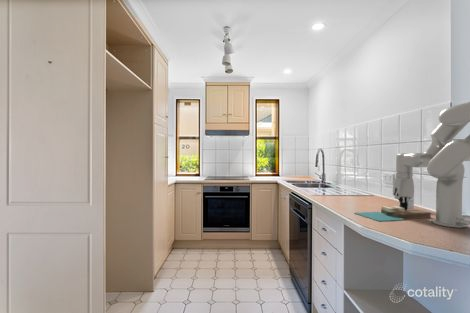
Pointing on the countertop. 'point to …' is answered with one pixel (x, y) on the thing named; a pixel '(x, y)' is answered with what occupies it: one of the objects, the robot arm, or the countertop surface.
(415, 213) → the walnut deck
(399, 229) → the countertop surface
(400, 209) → the birch tile
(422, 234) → the countertop surface
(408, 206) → the syrup box
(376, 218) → the teal mat
